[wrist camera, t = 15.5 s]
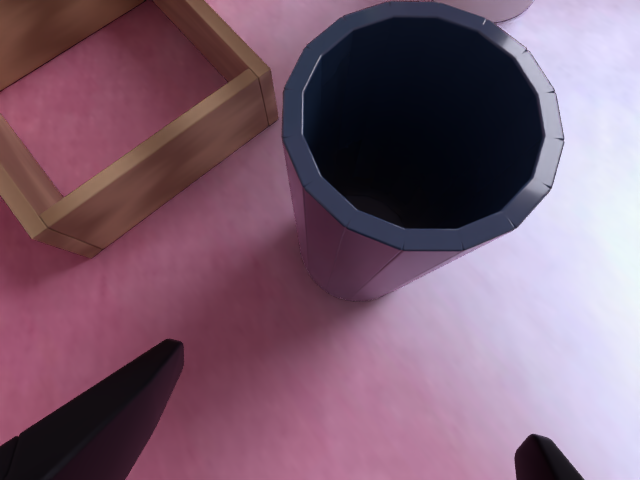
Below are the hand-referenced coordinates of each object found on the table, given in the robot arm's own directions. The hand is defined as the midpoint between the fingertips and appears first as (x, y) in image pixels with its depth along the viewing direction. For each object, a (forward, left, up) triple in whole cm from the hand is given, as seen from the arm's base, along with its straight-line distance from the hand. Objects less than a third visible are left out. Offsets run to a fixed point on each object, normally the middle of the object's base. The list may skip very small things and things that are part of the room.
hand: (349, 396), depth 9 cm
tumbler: (+5, +4, -10) cm, 12 cm away
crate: (0, +20, -10) cm, 22 cm away
